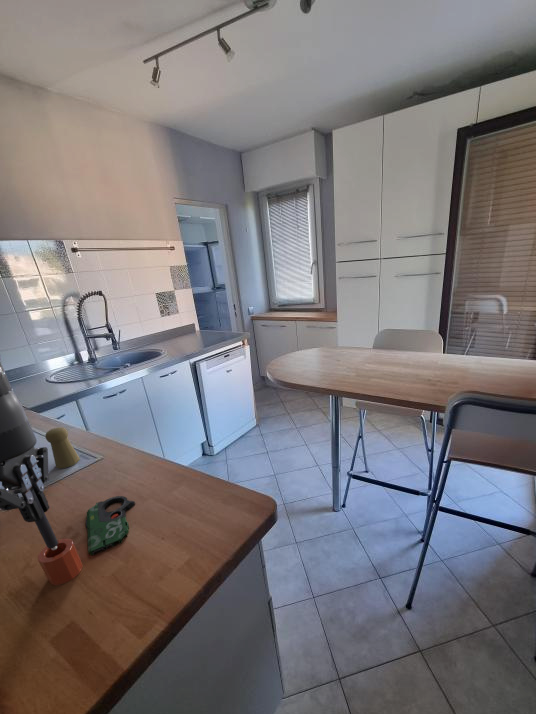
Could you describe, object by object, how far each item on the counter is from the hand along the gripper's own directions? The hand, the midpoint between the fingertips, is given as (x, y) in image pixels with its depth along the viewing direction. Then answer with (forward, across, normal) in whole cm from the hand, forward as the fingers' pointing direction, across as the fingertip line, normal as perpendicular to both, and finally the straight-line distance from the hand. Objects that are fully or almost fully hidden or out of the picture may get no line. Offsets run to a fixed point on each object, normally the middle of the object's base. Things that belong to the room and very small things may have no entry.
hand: (38, 515), depth 56 cm
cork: (+14, -42, -19) cm, 48 cm away
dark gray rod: (+8, 0, 0) cm, 8 cm away
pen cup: (+14, 0, 0) cm, 14 cm away
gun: (+14, -12, +4) cm, 19 cm away
